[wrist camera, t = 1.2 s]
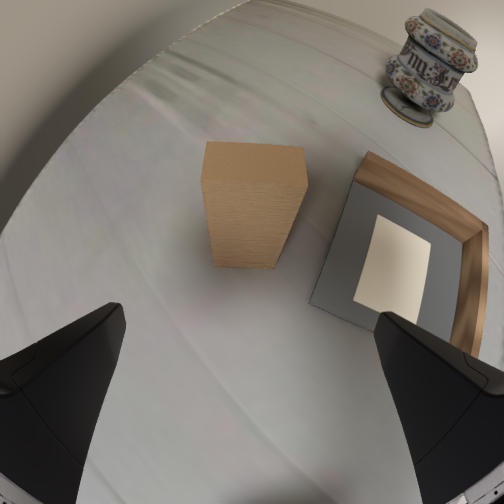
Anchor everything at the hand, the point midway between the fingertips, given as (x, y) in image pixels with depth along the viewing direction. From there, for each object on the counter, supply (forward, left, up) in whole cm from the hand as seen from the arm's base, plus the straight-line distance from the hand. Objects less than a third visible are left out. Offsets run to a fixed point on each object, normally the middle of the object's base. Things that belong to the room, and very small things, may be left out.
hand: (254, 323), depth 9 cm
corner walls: (+18, -1, -13) cm, 22 cm away
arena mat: (+17, -1, -13) cm, 22 cm away
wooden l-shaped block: (+5, +9, -13) cm, 17 cm away
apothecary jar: (+38, +20, -14) cm, 45 cm away
